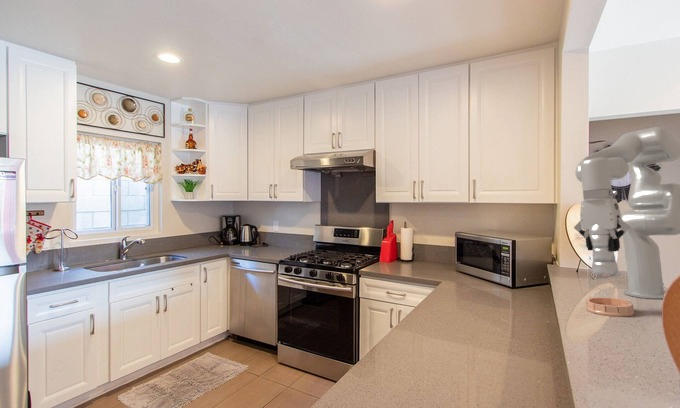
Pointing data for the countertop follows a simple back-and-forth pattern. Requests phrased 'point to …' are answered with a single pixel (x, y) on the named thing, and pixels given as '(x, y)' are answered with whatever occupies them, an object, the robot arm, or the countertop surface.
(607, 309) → the round tray
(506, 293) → the countertop surface
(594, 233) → the plastic bottle
